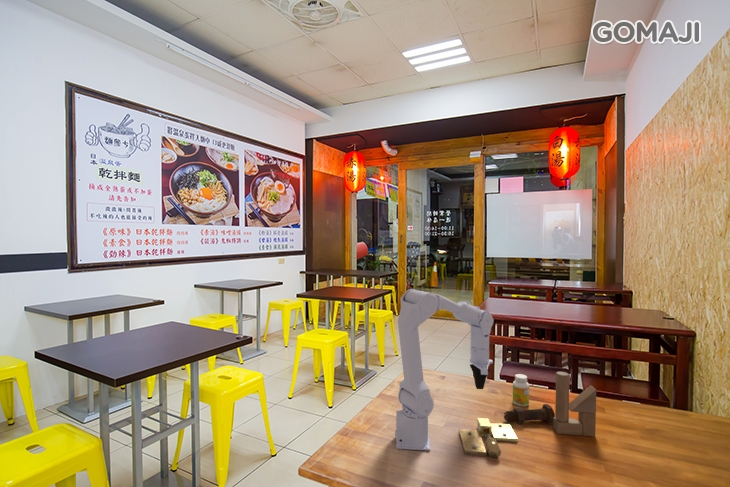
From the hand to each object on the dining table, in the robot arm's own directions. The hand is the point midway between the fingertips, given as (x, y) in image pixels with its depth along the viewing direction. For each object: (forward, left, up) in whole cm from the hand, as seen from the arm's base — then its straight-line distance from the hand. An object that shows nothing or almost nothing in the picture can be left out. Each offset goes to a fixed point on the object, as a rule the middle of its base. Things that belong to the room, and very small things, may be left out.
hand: (479, 388), depth 118 cm
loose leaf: (+3, -8, -10) cm, 13 cm away
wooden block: (+27, -5, -11) cm, 29 cm away
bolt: (+15, +1, -11) cm, 19 cm away
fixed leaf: (-3, -14, -10) cm, 18 cm away
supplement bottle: (+17, +13, -11) cm, 24 cm away
